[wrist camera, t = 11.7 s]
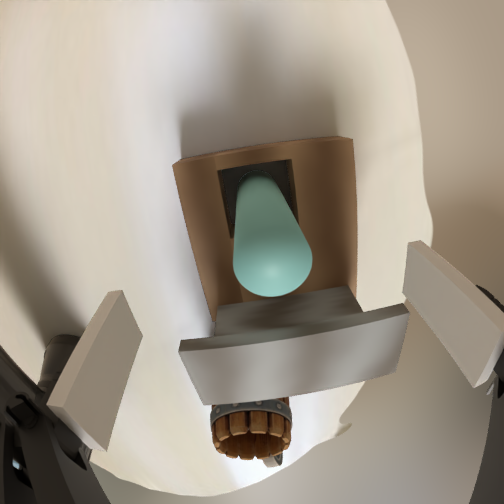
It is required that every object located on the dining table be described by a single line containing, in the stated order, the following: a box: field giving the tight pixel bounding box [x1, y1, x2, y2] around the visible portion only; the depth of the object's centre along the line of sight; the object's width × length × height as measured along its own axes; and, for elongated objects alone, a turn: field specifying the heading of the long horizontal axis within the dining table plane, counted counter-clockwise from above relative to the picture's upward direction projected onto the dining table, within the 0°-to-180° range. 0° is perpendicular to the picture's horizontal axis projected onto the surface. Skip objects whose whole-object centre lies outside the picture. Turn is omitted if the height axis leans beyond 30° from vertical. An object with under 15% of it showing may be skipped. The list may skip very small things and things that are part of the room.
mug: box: [210, 397, 292, 467], centre depth 33 cm, size 16×11×15 cm
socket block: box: [172, 136, 410, 405], centre depth 24 cm, size 16×17×15 cm
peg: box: [233, 170, 312, 297], centre depth 22 cm, size 4×4×16 cm
